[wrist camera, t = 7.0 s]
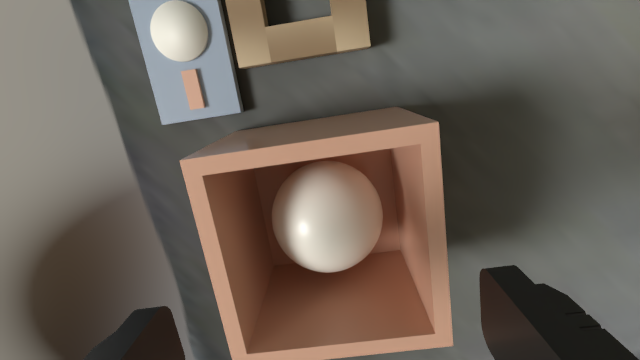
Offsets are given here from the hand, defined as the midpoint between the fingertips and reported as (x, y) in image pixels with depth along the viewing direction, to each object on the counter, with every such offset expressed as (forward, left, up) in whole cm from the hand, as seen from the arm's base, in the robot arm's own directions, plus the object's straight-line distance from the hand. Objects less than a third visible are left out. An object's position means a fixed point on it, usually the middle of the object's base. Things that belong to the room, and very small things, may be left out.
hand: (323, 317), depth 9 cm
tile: (-8, -6, -10) cm, 14 cm away
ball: (0, 0, -7) cm, 7 cm away
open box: (0, 0, -10) cm, 10 cm away
